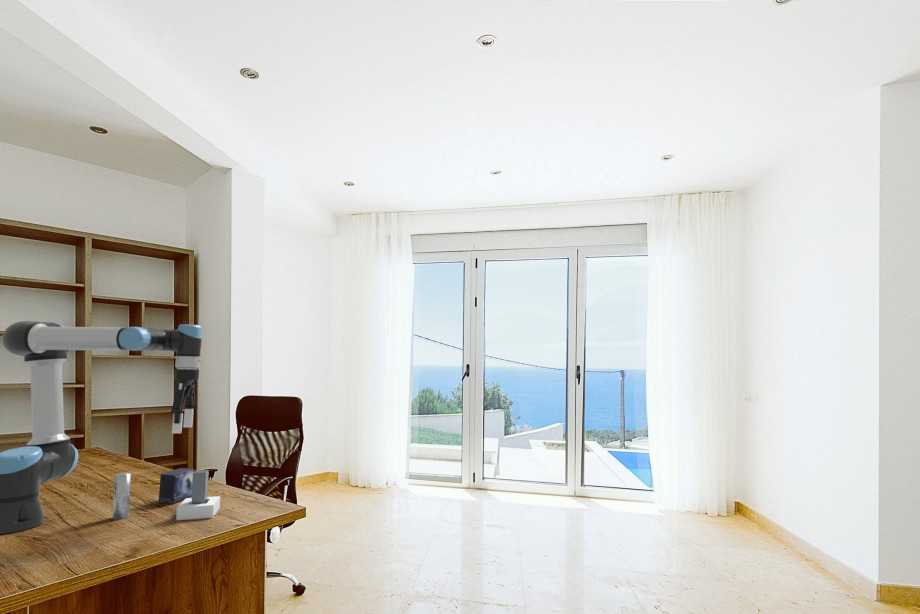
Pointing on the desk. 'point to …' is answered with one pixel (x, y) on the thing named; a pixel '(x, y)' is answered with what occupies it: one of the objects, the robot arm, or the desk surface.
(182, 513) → the socket block
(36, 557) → the desk surface
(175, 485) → the small box
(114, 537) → the desk surface
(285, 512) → the desk surface
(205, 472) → the square bit
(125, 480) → the round bit
